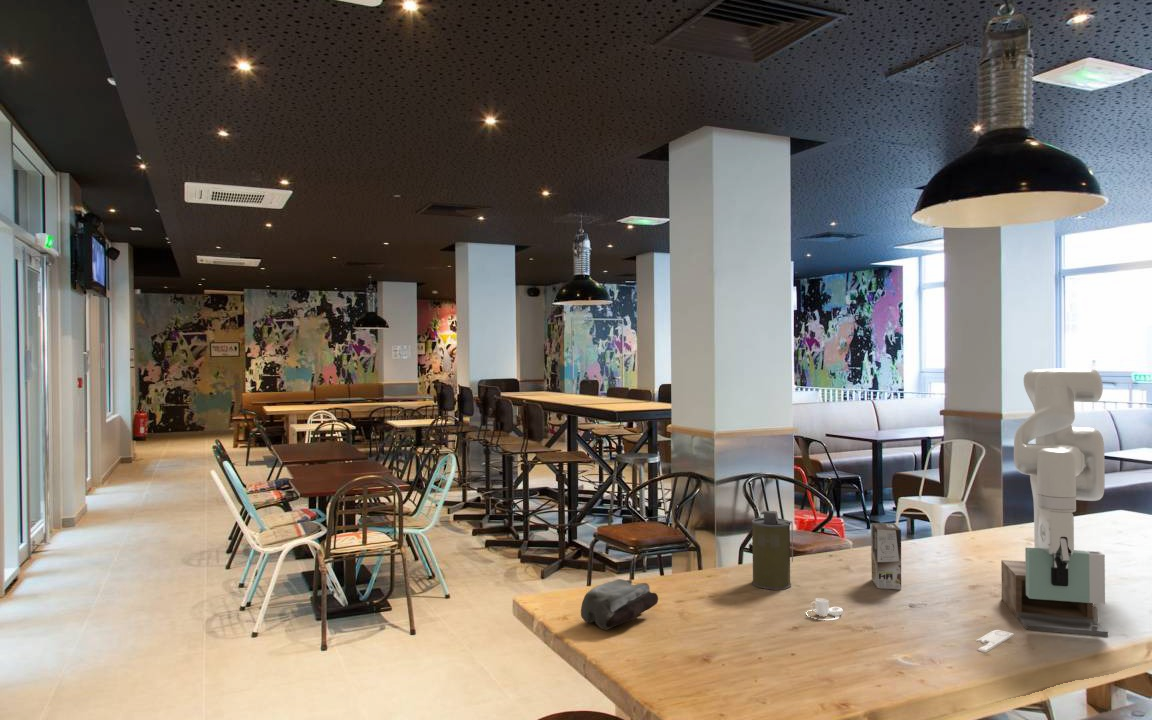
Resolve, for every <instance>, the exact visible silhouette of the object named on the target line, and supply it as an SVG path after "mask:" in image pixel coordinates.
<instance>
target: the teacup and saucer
mask: <svg viewBox="0 0 1152 720" xmlns="http://www.w3.org/2000/svg"><path fill="white" fill-rule="evenodd" d="M813 604H815V609H814V608H813ZM810 607H811V609H809V610H806V611H807V612H808V611H812V610H813V611H814V613H815V614H816V615H817V616H818V615H819V616H818V617H821V616H823V617H824V618H819V619H818V621H824V620H825V621H826V622H829V621H836V620H838V619H840V615H842V614H843V613H844V610H843V608H842V607H841V606H831V607H830V600H829V599H828V598H823V597H821V598H818V597H817V598H815V599H814V601H812V602H810ZM815 610H816V611H815ZM806 611H805V613H806V615H807V616H806V615H805V616H806V617H808V618H810V616H808V614H807V612H806ZM805 613H804V614H805ZM828 615H830V616H833V617H832V618H825V616H826V617H827V616H828ZM813 617H814V616H812V617H811V619H812V618H813ZM818 617H815V618H814V619H813V620H816V619H817V618H818ZM834 617H835V618H834Z"/></svg>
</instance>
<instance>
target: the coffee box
mask: <svg viewBox="0 0 1152 720" xmlns="http://www.w3.org/2000/svg"><path fill="white" fill-rule="evenodd" d="M870 542H871V543H870V546H871V548H870V549H871V550H870V554H871V555H870V556H871V560H870V561H871V581H872V582H873V583H874V585H875V586H876V588H877V589H880V590H881V589H882V590H883V589H885V590H902V529H901V527H899V526H898V525H896V524H895V523H894V522H871V523H870Z"/></svg>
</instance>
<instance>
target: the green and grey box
mask: <svg viewBox="0 0 1152 720" xmlns="http://www.w3.org/2000/svg"><path fill="white" fill-rule="evenodd" d="M1024 549H1025V550H1024V551H1025V558H1024V559H1025V561H1026V595H1027V597H1028V598H1029V599H1042V600H1056V601H1070V602H1084V603H1093V604H1099V605H1101V604H1102V605H1105V604H1106V567H1105V566H1106V565H1105V564H1106V563H1105V562H1106V561H1105V557H1106V555H1105V553H1103V552H1101V551H1098V550H1097V551H1093V550H1078V549H1076V550H1075V549H1074V551H1073V554H1072V555H1071V556H1069V562H1068V586H1054V585H1052V584H1051V567H1053V555H1049V554H1048V553H1046V552H1045V551H1044V550H1043V549H1041V548H1034V547H1025V548H1024ZM1056 554H1061V553H1060V552H1056ZM1058 558H1060V557H1057V559H1058Z"/></svg>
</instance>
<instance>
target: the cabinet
mask: <svg viewBox="0 0 1152 720" xmlns="http://www.w3.org/2000/svg"><path fill="white" fill-rule="evenodd" d="M1000 562H1001V565H1000V566H1001V600H1002V601H1003V602H1004V604H1005V605H1006V606H1007V607H1008V609H1009V610H1010V611H1011V613H1012V614H1013V615H1014V616H1015V618H1017V620H1018V621H1019V622H1020V623H1021V625H1022V626H1023V627H1024V629H1025V630H1027V631H1040V632H1049V633H1052V632H1053V633H1060V634H1062V633H1064V634H1075V635H1086V636H1089V635H1090V636H1098V637H1099V636H1100V637H1109V631H1108V630H1107V629H1106V628H1104V627H1103V626H1102V625H1101V623H1099V615H1098V614H1099V613H1098V611H1099V609H1098V607H1097V606H1094V603H1084V602H1070V601H1056V600H1042V599H1029V598H1028V597H1027V595H1026V561H1022V560H1010V559H1009V560H1007V559H1006V560H1005V559H1004V560H1003V559H1001V561H1000Z"/></svg>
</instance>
